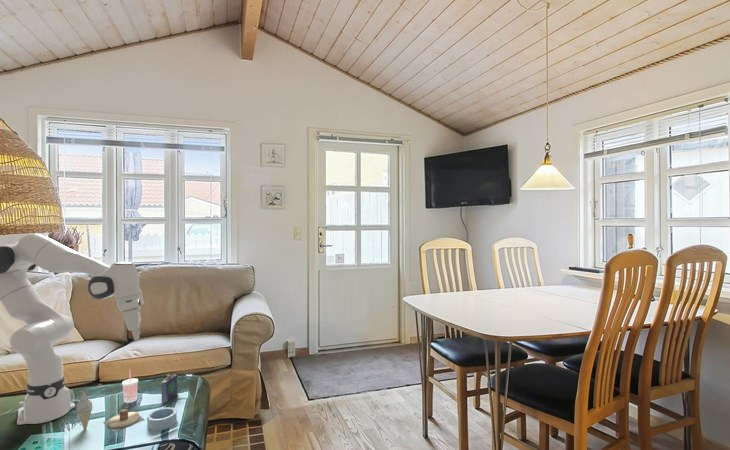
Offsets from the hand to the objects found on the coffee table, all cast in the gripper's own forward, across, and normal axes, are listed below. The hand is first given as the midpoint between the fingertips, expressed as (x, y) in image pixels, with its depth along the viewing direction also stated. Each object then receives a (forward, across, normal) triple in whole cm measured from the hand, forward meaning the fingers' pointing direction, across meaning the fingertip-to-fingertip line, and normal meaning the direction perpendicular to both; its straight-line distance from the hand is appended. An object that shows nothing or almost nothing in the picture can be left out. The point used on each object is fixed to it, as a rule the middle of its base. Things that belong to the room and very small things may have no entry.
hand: (137, 337), depth 157 cm
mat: (+32, -3, -10) cm, 33 cm away
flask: (+33, -18, +6) cm, 38 cm away
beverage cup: (+30, -22, -9) cm, 39 cm away
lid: (+31, -3, -10) cm, 33 cm away
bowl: (+34, +6, +3) cm, 35 cm away
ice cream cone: (+30, -4, -23) cm, 38 cm away
